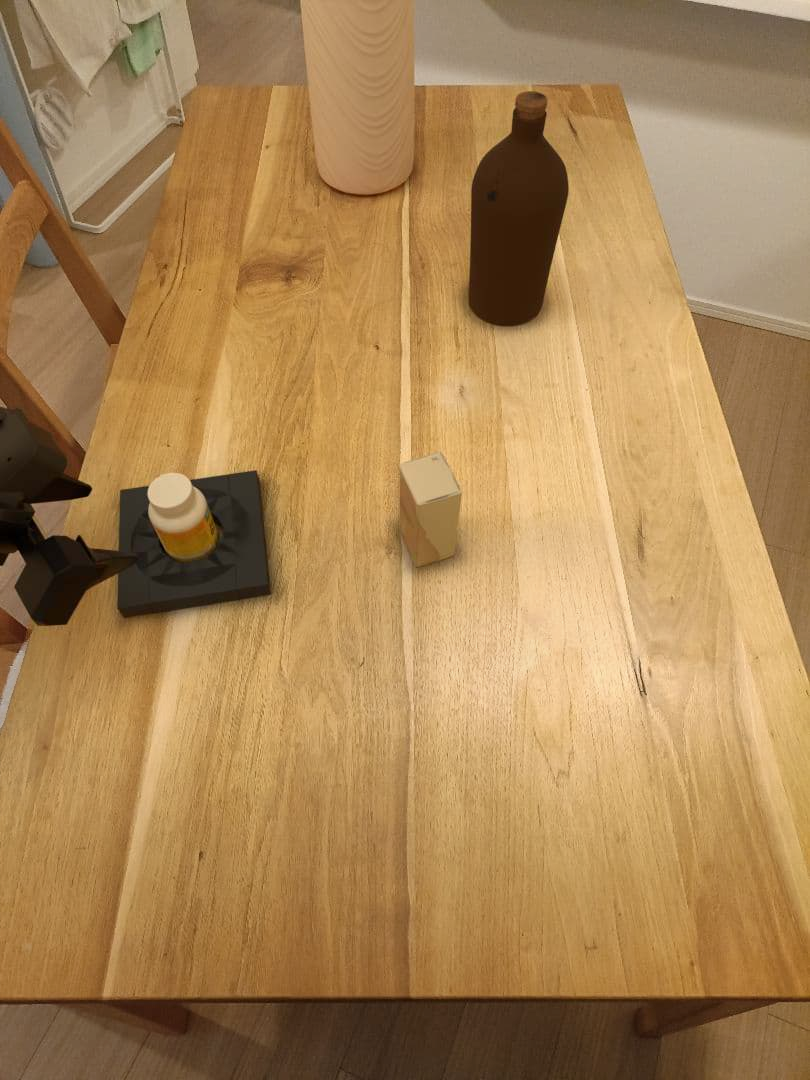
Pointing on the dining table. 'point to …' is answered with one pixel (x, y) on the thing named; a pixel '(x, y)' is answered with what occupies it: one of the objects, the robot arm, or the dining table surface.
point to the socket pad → (209, 580)
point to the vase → (361, 91)
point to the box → (428, 508)
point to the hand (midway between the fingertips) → (112, 524)
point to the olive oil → (516, 218)
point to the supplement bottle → (181, 518)
